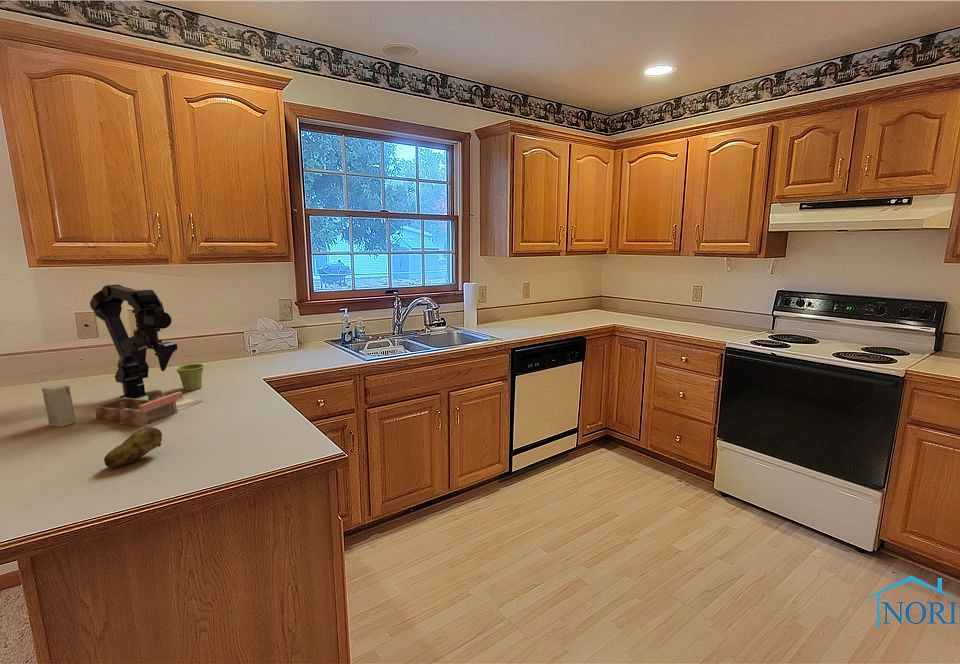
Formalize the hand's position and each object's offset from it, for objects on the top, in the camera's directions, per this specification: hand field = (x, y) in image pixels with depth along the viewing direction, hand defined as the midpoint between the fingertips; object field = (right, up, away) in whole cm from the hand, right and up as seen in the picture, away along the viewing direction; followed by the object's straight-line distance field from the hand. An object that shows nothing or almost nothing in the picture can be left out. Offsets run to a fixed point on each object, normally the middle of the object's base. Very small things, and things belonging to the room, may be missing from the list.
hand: (152, 370), depth 167 cm
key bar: (+14, -10, -16) cm, 23 cm away
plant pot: (+3, -9, +18) cm, 20 cm away
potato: (+25, -21, -42) cm, 53 cm away
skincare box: (-16, -16, -18) cm, 29 cm away
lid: (+5, -12, +1) cm, 14 cm away
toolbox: (+2, -14, -11) cm, 18 cm away
